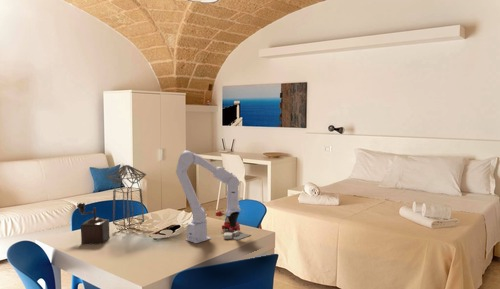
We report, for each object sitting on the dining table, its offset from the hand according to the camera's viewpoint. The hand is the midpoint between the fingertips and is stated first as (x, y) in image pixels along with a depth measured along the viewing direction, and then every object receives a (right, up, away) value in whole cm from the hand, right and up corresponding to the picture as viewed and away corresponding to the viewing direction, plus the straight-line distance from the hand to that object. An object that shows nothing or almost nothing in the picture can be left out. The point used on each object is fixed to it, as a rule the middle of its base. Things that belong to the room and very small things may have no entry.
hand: (233, 226), depth 199 cm
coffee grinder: (-70, -6, -2) cm, 70 cm away
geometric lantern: (-56, -5, +14) cm, 58 cm away
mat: (+2, -5, +3) cm, 6 cm away
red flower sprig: (-3, -5, +13) cm, 14 cm away
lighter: (-1, -5, -3) cm, 5 cm away
